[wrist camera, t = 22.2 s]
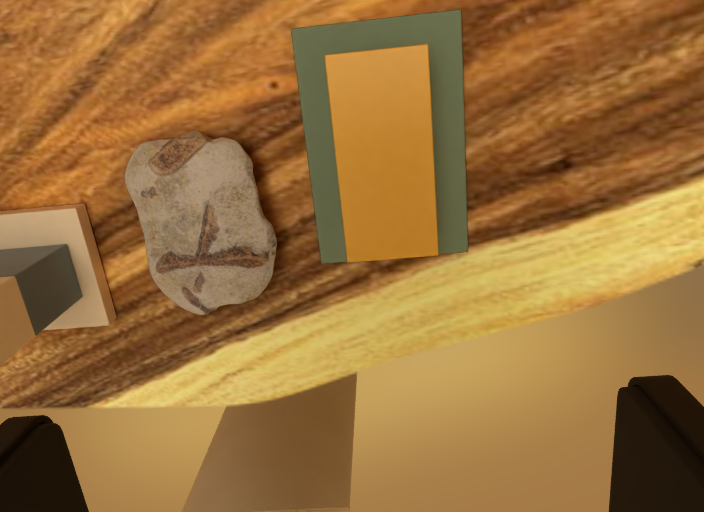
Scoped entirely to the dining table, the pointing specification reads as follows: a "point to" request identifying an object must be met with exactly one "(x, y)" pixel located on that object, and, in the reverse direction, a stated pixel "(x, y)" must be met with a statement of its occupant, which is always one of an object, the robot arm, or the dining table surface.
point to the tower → (49, 275)
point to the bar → (384, 151)
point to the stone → (201, 220)
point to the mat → (445, 103)
